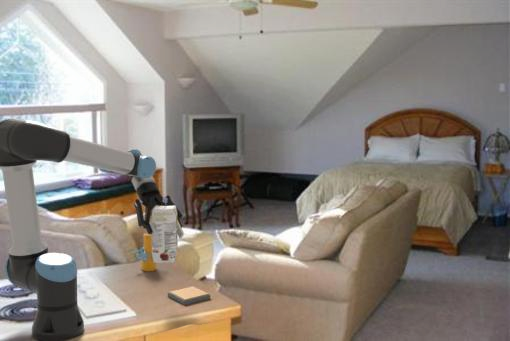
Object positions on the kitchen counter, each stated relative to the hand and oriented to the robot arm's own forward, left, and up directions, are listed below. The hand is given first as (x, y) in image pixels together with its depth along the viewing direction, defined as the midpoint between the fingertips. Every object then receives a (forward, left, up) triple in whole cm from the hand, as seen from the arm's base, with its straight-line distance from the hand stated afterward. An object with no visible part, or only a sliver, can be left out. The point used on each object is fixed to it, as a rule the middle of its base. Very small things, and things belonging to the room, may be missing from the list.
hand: (169, 238), depth 204 cm
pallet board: (+9, +2, -23) cm, 25 cm away
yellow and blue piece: (+14, +40, -24) cm, 49 cm away
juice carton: (0, +3, -9) cm, 9 cm away
